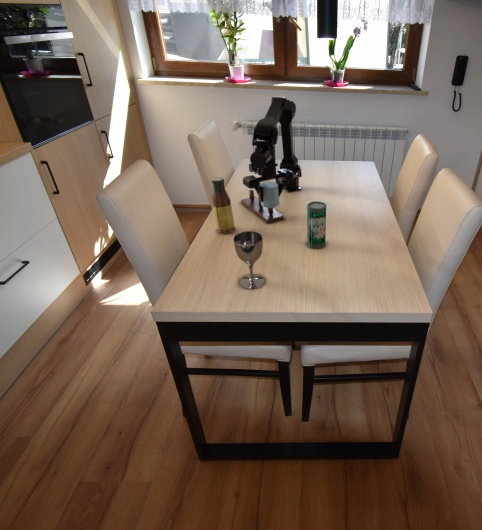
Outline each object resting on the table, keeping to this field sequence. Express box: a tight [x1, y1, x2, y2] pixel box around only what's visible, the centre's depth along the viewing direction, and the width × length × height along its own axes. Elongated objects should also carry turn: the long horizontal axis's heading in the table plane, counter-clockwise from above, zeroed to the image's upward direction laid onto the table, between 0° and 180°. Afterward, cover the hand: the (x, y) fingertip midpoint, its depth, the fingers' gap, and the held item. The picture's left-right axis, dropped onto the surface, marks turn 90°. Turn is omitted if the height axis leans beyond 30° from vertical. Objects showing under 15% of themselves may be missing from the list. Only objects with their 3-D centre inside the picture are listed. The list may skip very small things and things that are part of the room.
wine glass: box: [233, 230, 265, 290], centre depth 112 cm, size 8×8×15 cm
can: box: [306, 200, 327, 250], centre depth 133 cm, size 6×6×15 cm
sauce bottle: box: [211, 176, 235, 234], centre depth 138 cm, size 7×6×20 cm
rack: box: [240, 188, 284, 224], centre depth 156 cm, size 7×23×6 cm, turn 37°
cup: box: [261, 180, 280, 209], centre depth 148 cm, size 7×7×8 cm
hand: (270, 199), depth 149 cm, fingers closed on cup, 7 cm apart
